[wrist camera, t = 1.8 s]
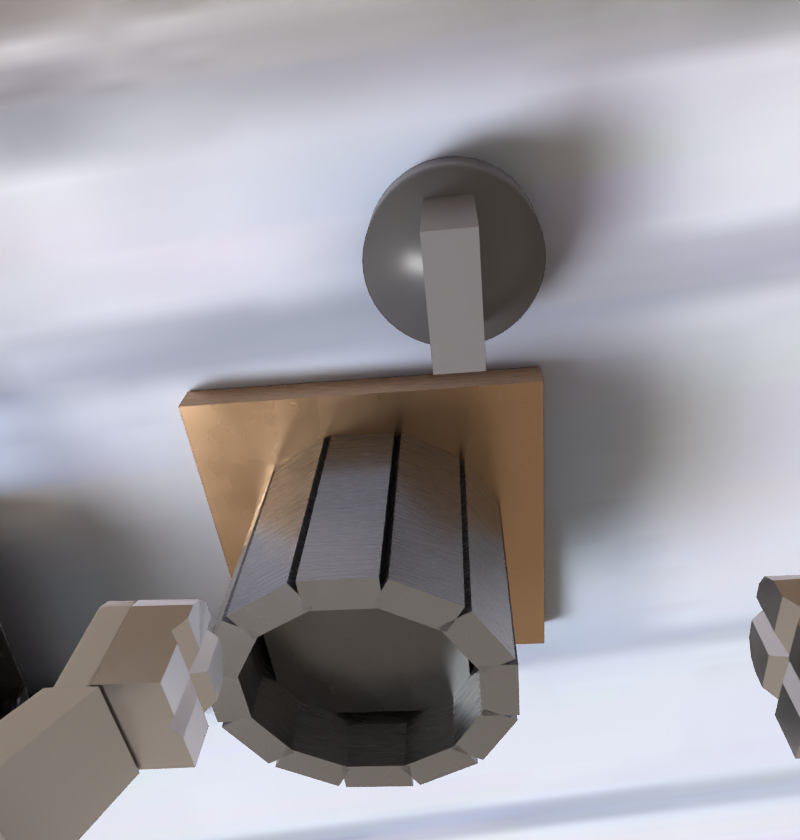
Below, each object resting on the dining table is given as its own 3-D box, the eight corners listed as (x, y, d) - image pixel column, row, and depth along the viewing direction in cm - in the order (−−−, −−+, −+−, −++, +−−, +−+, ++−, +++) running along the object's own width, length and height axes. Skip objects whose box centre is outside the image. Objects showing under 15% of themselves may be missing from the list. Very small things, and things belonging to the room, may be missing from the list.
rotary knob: (357, 165, 24) (335, 209, 19) (537, 147, 23) (561, 188, 19) (378, 329, 27) (365, 402, 22) (539, 316, 26) (559, 389, 22)
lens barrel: (187, 391, 29) (92, 544, 21) (539, 366, 27) (579, 521, 19) (259, 633, 36) (209, 815, 28) (541, 623, 34) (570, 811, 27)
